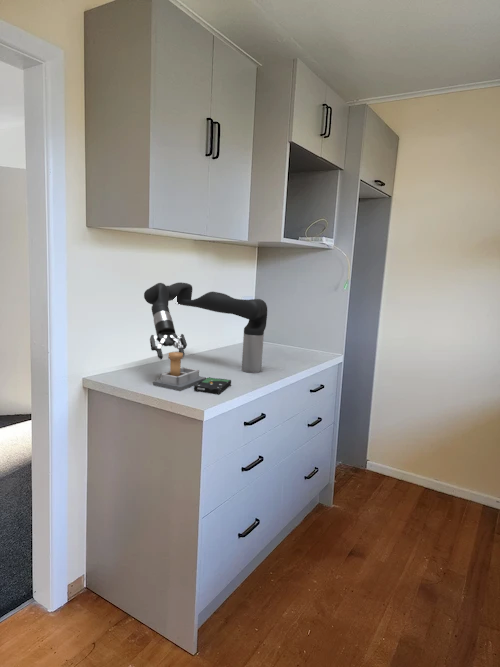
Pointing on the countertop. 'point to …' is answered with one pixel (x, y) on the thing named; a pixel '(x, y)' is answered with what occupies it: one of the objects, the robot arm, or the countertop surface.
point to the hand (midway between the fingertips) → (172, 357)
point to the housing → (179, 379)
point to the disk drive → (212, 385)
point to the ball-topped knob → (175, 363)
